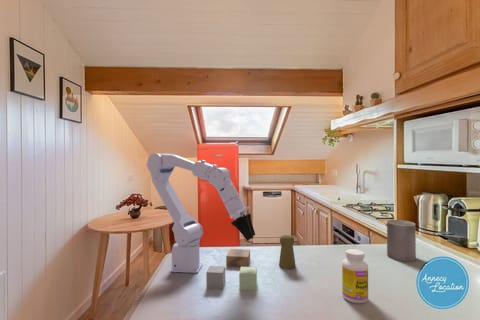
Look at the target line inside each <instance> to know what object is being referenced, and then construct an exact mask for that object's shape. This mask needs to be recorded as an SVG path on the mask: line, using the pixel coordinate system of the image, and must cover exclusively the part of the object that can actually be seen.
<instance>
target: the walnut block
mask: <svg viewBox="0 0 480 320" xmlns="http://www.w3.org/2000/svg"><path fill="white" fill-rule="evenodd" d="M225 257H226V260H225V262H226V265H225V267H230V268H231V267H234V268H235V267H236V268H241V267H250V266H249V265H250V261H251V249H239V248H235V249H234V248H229V250H228V252H227V254H226V256H225Z"/></svg>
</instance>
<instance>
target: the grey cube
mask: <svg viewBox="0 0 480 320" xmlns="http://www.w3.org/2000/svg"><path fill="white" fill-rule="evenodd" d="M205 272H206V281H205V282H206V289H208V290H214V289H215V290H224V288H225V283H226V265H224V266H223V265H209V267H208V268H207V270H206V271H205Z"/></svg>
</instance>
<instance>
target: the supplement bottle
mask: <svg viewBox="0 0 480 320" xmlns="http://www.w3.org/2000/svg"><path fill="white" fill-rule="evenodd" d="M345 257H346V258H344V259H343V260H342V263H341V266H342V267H341V268H342V269H341V270H342V271H341V274H342V276H341V278H342V280H341V281H342V283H341V286H342V290H341V291H342V292H341V293H342V296H343V298H344V299H345V300H346V301H348V302H351V303H353V304H365V303H367V302H368V300H369V264H368V263H367V262H366V261H365V260H364V259H365V252H364V251H362V250H360V249H355V248H354V249H353V248H352V249H351V248H349V249H346V250H345Z"/></svg>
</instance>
